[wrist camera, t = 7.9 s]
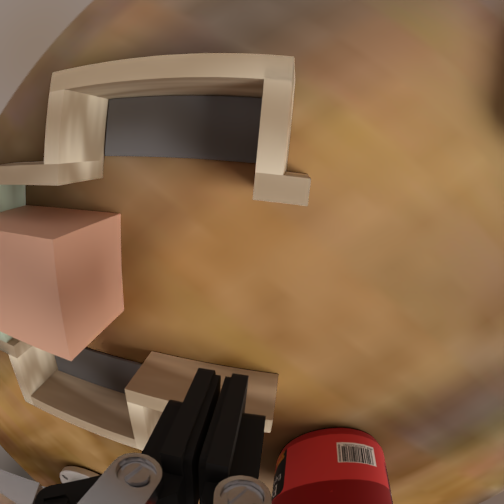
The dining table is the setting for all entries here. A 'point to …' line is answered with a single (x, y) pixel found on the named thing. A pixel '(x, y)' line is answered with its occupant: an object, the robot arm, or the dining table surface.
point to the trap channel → (153, 145)
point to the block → (59, 276)
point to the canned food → (332, 469)
